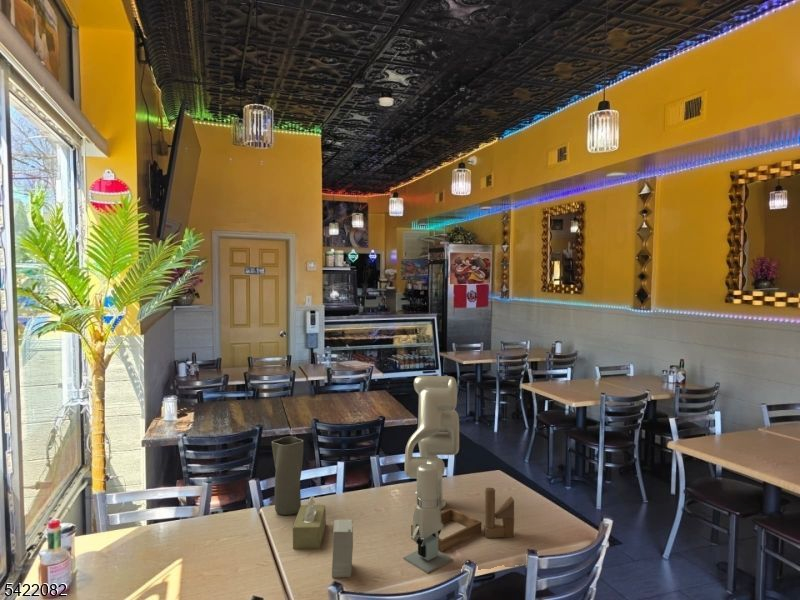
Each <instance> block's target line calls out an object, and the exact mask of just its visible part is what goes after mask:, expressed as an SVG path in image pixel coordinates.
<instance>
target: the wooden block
mask: <svg viewBox="0 0 800 600" xmlns="http://www.w3.org/2000/svg"><path fill="white" fill-rule="evenodd" d="M484 490H485V492H484V493H485V497H484V500H485V501H484V503H485V507H484V508H485V511H484V512H485V514H484V517H485V518H484V519H485V520H484V523H485V524H483V534H484V536H485V538H486V539H493V538H509V537H510V538H513V537H514V536H515V500H514V498H513V497H512V496H510V497H509V498H508V499H507V500H505V502H504V503H503V504H502V505H501V506H500V507H499V508H498V509H497V510H496V488H494V487H486V488H485V489H484ZM496 520H502V522H501V523H502V524H499V523H496Z"/></svg>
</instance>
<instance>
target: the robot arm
mask: <svg viewBox="0 0 800 600" xmlns="http://www.w3.org/2000/svg"><path fill="white" fill-rule="evenodd" d="M413 388H414V391H415V393H417V395H418V408H417V409H418V410H417V411H418V414H417V417H418V418H417V429H416V430H415V431H414V432H413V434H411V436H410V437H409V438H408V441H407V442H406V443H407V444H406V446H405V450H404V452H405V453H404V473H405V475H406V477H408V478H409V479H416V491H415V495H416V505H415V506H414V510H413V520H412V525H413V535H412V536H411V539H410V540H412V541H414V542H415V543H416V544H417V550H418V554H419V555H420V556H422V557H426V546H425V545H424V544H425V539H426V537H427V536H429V535H433V536H435V537H437V538H438V539H439V538H440V535H441V532H442V530H443V528H444V523H442V522H441V512H442V511H441V510H443V509H445V507H446V506H447V501H446V500H445V499H444V498H443V491H444V489H443V475H444V474H445V468H446V467H445V462H444V461H443V459H442V458H440V457H439V456H454V455H457V454H458V453H459V450H460V417H459V413H458V412H457V410H456V408H457V403H458V385H457V380H456V378H455V377H454V376H449V375H447V376H446V375H418V376H416V377H415V378H414V379H413ZM417 445H418V450H419V456H413V454H414V449H415V446H417ZM417 536H418V537H417ZM421 538H422V541H421V540H420V539H421Z"/></svg>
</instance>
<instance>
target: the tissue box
mask: <svg viewBox="0 0 800 600" xmlns="http://www.w3.org/2000/svg"><path fill="white" fill-rule="evenodd" d="M315 503H316V501H315V496H314V495H311V496H310V497H309V499H308V501H307V504H306V505H301V507H300V509H299V512H297V515H296V518H295V521H294V524H293V526H292V549H293V550H300V549H301V550H303V549H306V550H307V549H320V548H321V545H322V540H323V537H324V532H325V528H326V525H327V523H326V522H327V521H326V518H327V517H326V505H325V504H320V505H319V504H318V505H317V504H315Z"/></svg>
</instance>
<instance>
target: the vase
mask: <svg viewBox="0 0 800 600" xmlns="http://www.w3.org/2000/svg"><path fill="white" fill-rule="evenodd" d="M271 448H272V449H271V450H272V455H273V462H274V467H275V473H274V474H275V476H274V510H275V512H276V513H277V514H278V515H280V516H281V515H283V516H291V515H296V514H298V512H299V509H300V507H301V506H302V497H301V478H302V469H303V462H304V461H303V459H304V439H302V438H297V437H296V436H285V437H281V438H278V439H274V440H272V441H271Z"/></svg>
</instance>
